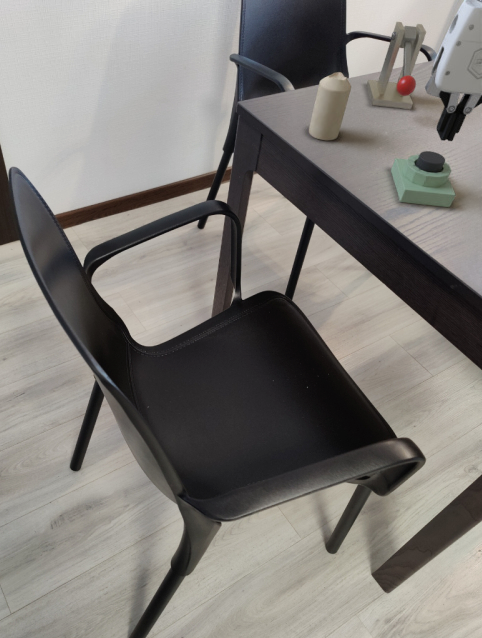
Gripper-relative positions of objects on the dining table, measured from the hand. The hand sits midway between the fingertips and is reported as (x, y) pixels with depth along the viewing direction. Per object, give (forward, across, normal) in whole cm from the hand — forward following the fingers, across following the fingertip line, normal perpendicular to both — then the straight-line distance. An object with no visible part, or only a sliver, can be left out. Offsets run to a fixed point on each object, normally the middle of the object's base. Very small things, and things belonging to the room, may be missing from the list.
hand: (444, 136), depth 77 cm
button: (+5, -1, 0) cm, 5 cm away
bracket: (+9, -1, +36) cm, 37 cm away
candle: (+9, -16, +16) cm, 24 cm away
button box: (+9, -1, 0) cm, 9 cm away
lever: (+2, -1, +32) cm, 32 cm away
